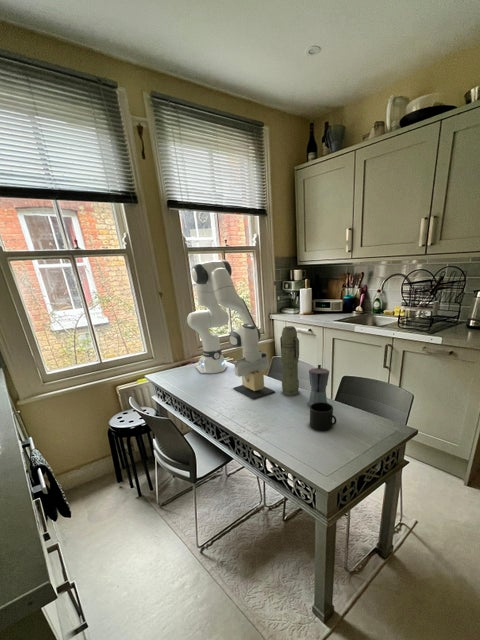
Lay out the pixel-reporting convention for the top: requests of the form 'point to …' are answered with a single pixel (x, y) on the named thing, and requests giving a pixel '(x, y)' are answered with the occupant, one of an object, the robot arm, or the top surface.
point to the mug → (321, 416)
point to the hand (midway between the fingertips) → (252, 380)
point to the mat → (254, 392)
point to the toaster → (254, 381)
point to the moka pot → (318, 384)
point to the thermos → (290, 360)
